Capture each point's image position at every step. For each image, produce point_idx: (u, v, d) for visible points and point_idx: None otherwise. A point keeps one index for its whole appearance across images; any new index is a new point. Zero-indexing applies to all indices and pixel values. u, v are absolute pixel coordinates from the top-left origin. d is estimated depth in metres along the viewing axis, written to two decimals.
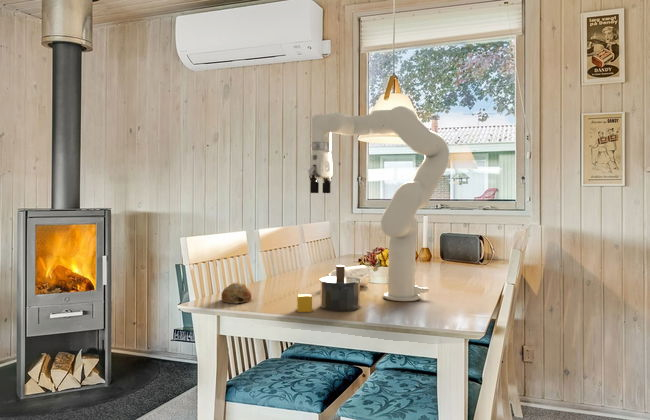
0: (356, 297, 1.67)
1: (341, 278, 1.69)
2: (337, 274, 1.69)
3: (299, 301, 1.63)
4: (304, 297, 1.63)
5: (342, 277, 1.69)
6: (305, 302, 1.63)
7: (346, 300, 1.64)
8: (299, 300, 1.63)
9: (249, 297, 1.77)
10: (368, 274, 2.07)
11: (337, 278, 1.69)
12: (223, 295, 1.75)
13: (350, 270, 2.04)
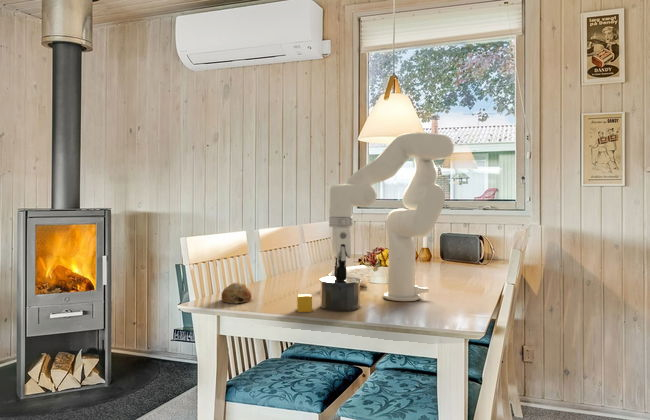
0: (356, 297, 1.67)
1: None
2: None
3: (299, 301, 1.63)
4: (304, 297, 1.63)
5: None
6: (305, 302, 1.63)
7: (346, 300, 1.64)
8: (299, 300, 1.63)
9: (249, 297, 1.77)
10: (368, 274, 2.07)
11: None
12: (223, 295, 1.75)
13: (350, 270, 2.04)
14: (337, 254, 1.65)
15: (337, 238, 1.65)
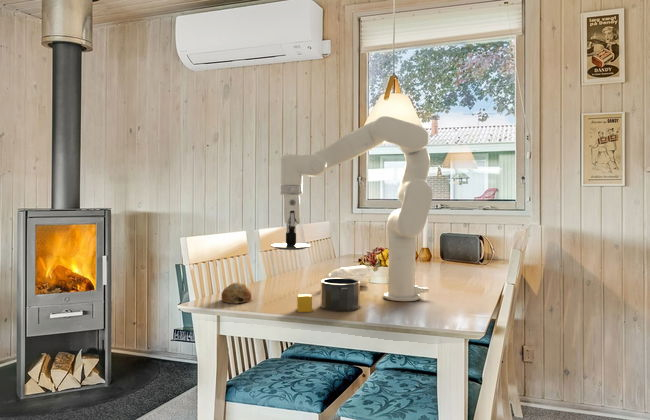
0: (356, 297, 1.67)
1: None
2: None
3: (299, 301, 1.63)
4: (304, 297, 1.63)
5: None
6: (305, 302, 1.63)
7: (346, 300, 1.64)
8: (299, 300, 1.63)
9: (249, 297, 1.77)
10: (368, 274, 2.07)
11: None
12: (223, 295, 1.75)
13: (350, 270, 2.04)
14: (286, 220, 1.74)
15: (287, 205, 1.74)
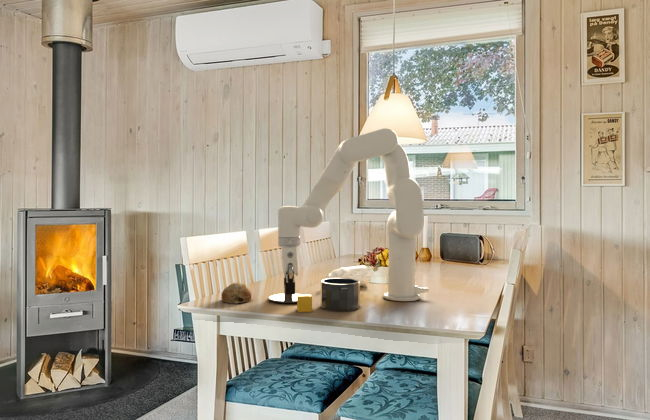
0: (356, 297, 1.67)
1: (289, 296, 1.79)
2: (285, 292, 1.79)
3: (299, 301, 1.63)
4: (304, 297, 1.63)
5: (290, 295, 1.79)
6: (305, 302, 1.63)
7: (346, 300, 1.64)
8: (299, 300, 1.63)
9: (249, 297, 1.77)
10: (368, 274, 2.07)
11: (285, 296, 1.79)
12: (223, 295, 1.75)
13: (350, 270, 2.04)
14: (285, 272, 1.75)
15: (284, 257, 1.75)
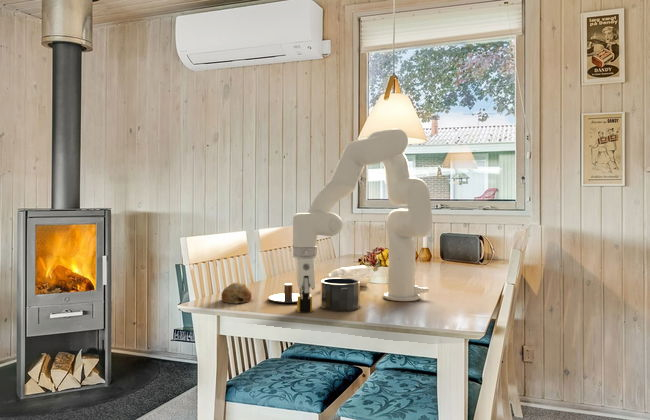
0: (356, 297, 1.67)
1: (289, 296, 1.79)
2: (285, 292, 1.79)
3: (299, 301, 1.63)
4: None
5: (290, 295, 1.79)
6: None
7: (346, 300, 1.64)
8: (299, 300, 1.63)
9: (249, 297, 1.77)
10: (368, 274, 2.07)
11: (285, 296, 1.79)
12: (223, 295, 1.75)
13: (350, 270, 2.04)
14: (300, 286, 1.60)
15: (300, 269, 1.60)
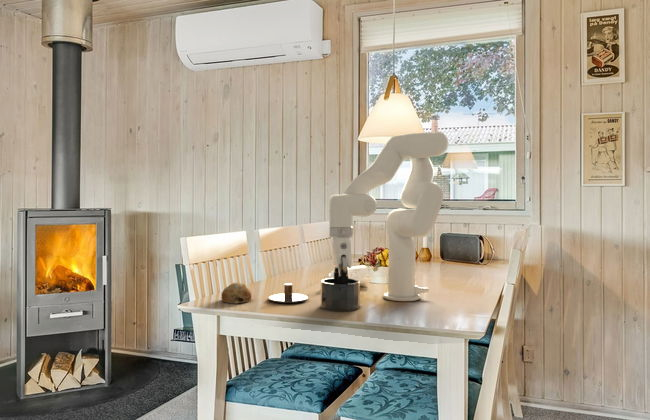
0: (356, 297, 1.67)
1: (289, 296, 1.79)
2: (285, 292, 1.79)
3: None
4: None
5: (290, 295, 1.79)
6: None
7: (346, 300, 1.64)
8: None
9: (249, 297, 1.77)
10: (368, 274, 2.07)
11: (285, 296, 1.79)
12: (223, 295, 1.75)
13: (350, 270, 2.04)
14: (338, 264, 1.65)
15: (337, 248, 1.65)
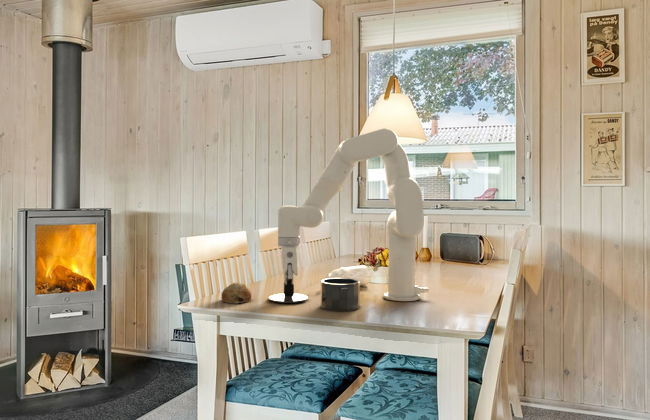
0: (356, 297, 1.67)
1: (289, 296, 1.79)
2: None
3: None
4: None
5: None
6: None
7: (346, 300, 1.64)
8: None
9: (249, 297, 1.77)
10: (368, 274, 2.07)
11: (285, 296, 1.79)
12: (223, 295, 1.75)
13: (350, 270, 2.04)
14: (284, 272, 1.75)
15: (284, 257, 1.75)
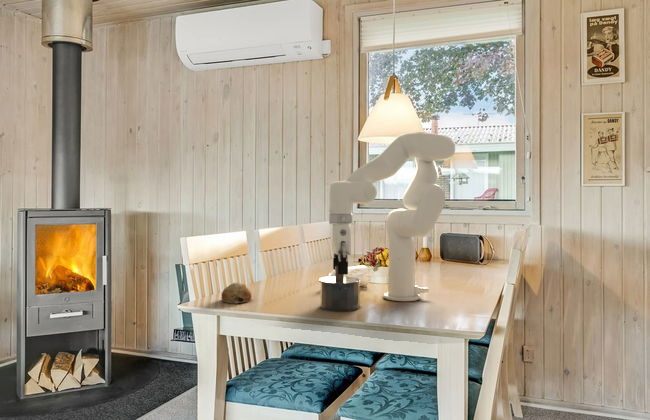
0: (356, 297, 1.67)
1: (340, 278, 1.69)
2: (336, 274, 1.69)
3: None
4: None
5: (341, 277, 1.69)
6: None
7: (346, 300, 1.64)
8: None
9: (249, 297, 1.77)
10: (368, 274, 2.07)
11: (336, 278, 1.69)
12: (223, 295, 1.75)
13: (350, 270, 2.04)
14: (337, 251, 1.65)
15: (337, 235, 1.65)
